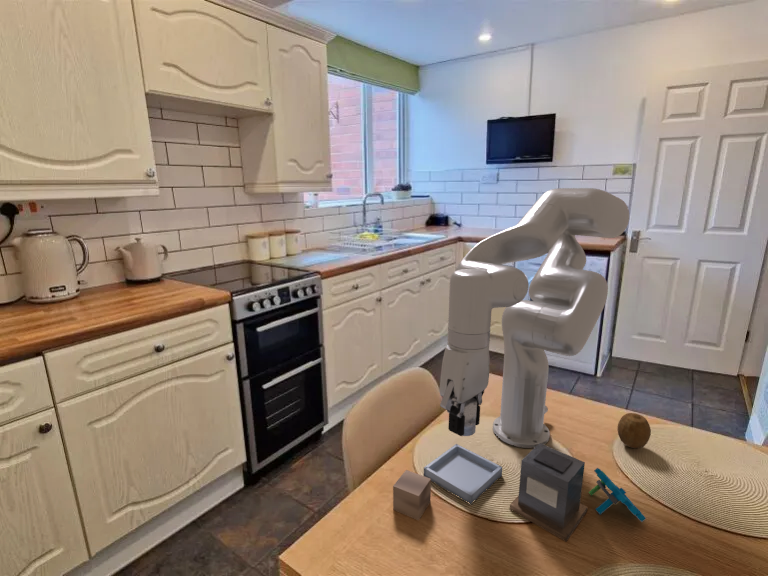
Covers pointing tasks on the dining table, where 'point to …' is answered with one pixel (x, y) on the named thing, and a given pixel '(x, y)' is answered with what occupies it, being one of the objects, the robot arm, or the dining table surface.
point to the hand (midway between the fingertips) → (464, 426)
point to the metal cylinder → (469, 416)
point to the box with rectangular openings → (551, 491)
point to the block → (411, 494)
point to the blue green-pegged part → (613, 495)
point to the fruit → (634, 430)
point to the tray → (463, 472)
